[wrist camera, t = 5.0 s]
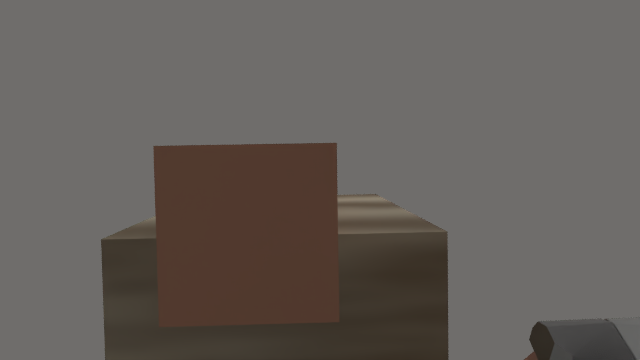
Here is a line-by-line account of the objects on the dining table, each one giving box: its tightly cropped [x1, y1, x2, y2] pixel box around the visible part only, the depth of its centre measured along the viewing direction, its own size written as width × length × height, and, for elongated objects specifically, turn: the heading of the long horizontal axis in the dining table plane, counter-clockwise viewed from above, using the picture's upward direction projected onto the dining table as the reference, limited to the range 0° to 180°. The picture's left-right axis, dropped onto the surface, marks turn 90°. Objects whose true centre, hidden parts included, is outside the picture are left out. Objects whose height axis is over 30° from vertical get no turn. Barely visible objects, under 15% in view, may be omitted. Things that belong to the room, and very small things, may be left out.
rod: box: [154, 143, 339, 327], centre depth 21 cm, size 25×2×2 cm, turn 2°
